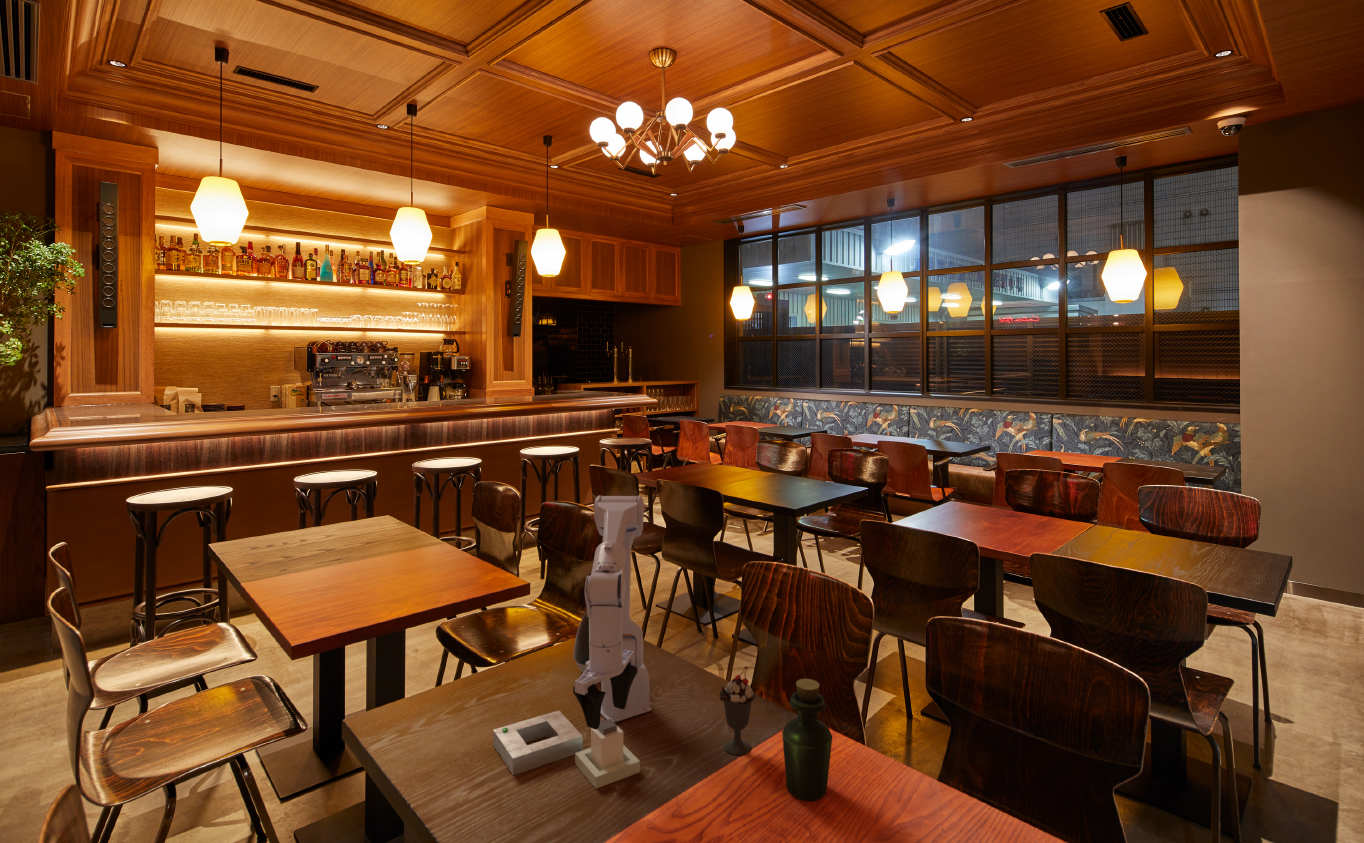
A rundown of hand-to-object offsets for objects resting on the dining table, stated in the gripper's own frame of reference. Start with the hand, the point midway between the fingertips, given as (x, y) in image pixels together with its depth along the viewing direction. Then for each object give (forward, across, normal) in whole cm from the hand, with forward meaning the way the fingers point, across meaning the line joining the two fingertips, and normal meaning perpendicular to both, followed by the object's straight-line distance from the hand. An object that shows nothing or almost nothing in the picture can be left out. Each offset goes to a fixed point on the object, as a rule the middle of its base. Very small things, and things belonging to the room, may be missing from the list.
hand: (606, 717), depth 114 cm
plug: (+9, 0, 0) cm, 9 cm away
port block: (+9, +2, -15) cm, 17 cm away
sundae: (+9, -17, +17) cm, 26 cm away
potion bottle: (+10, -12, +32) cm, 36 cm away
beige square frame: (+9, 0, 0) cm, 9 cm away
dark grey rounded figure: (+9, -29, -25) cm, 40 cm away
